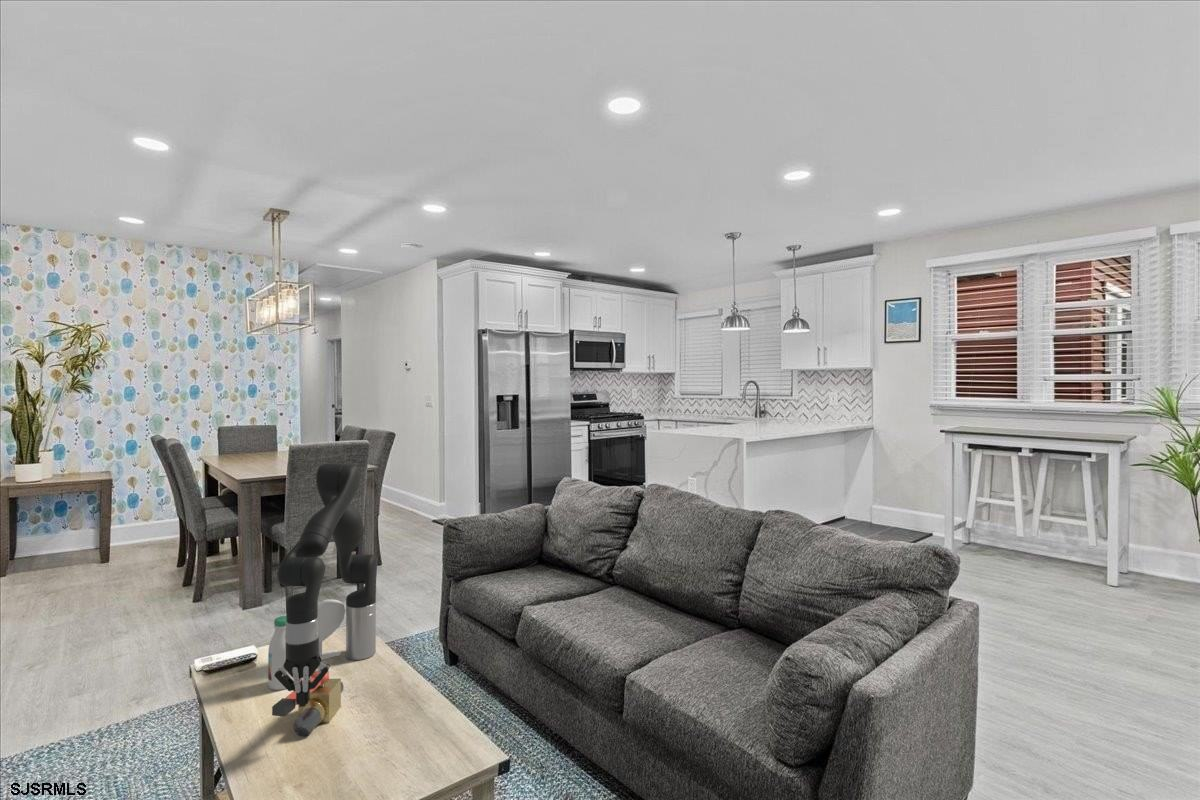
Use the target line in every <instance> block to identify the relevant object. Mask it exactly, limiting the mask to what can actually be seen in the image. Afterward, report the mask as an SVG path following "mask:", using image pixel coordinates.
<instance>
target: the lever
mask: <svg viewBox="0 0 1200 800" xmlns="http://www.w3.org/2000/svg"><path fill="white" fill-rule="evenodd" d="M318 674H319V672H318V670H315V672H314V673H313V675H312V676H311V682H312V681H313V680H314V679H315V678H316V677H317V675H318ZM329 679H330V671H329V670H328V672H327V673H326V674H325V676H324V677H323V678H322V680H321V681H320V682H319V683H318V685H317V686H316V687H315V688H314V689H310V693H311V692H312V691H314V690H315V689H316V688H317V687H318V686H319V685H321V684H324V683H326V682H328V681H329ZM296 706H298V705H297V703H296V692H295V691H292V692H290V693H289V694H288V695H287V696H286V697H285V698H284V697H282V698H281V699H280V700H278V701H277V702H276V703H274V704H273V706H272V707H271V715H272V716H273V717H283V718H284V717H286V716H288V715H289V714H290V713H291V712H293V710H295V709H296Z"/></svg>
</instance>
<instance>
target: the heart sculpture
mask: <svg viewBox="0 0 1200 800" xmlns="http://www.w3.org/2000/svg"><path fill="white" fill-rule="evenodd" d="M345 615H346V607H345V604H343V602H342V601H340V600H338V599H324V600H322V601H321V602H319V603H318V623H319V656H320V658H321V661H323V660H327V659H330V658H334V657H338V656H340V655H341V651H340V650H336V649H333V650H329V651H325V652H323V642H324V641H325V640H326V639H328V638H329V637H330V636H331V635H333V633H334V632H336V630H338V629H339V628H340V626H341V624H342V623H343V621H344V618H345Z"/></svg>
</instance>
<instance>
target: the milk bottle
mask: <svg viewBox="0 0 1200 800" xmlns="http://www.w3.org/2000/svg"><path fill="white" fill-rule="evenodd" d="M273 624H274V626H273V627H274V632H273V635H272V637H271V640H270V642H269V646H268V656H267V657H268V659H267V660H268V663H267V664H268V665H267V666H268V667H267V668H268V669H267V671H268V672H267V673H268V674H267V675H268V677H267V679H268V681H267V683H268V688H269V689H271V690H273V691H282V690H287V689H286V688H285V687H284V686H283V685H282V684H281V683H280V682H279V680H278V679H277V678H276V677H275V676H274V675H275V673H276V671H277V670H278V669H279V668H282V667H283V665H284V663H285V660H286V644H285V630H286V615H283V616H278V617H276V618H275V619H274V621H273ZM287 675H288V676H289V677H290V678H291V679H292V680H293V681H294V679H293V677H292V676H291V675H290V674H289V673H288V672H287Z"/></svg>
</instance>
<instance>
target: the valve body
mask: <svg viewBox="0 0 1200 800" xmlns="http://www.w3.org/2000/svg"><path fill="white" fill-rule="evenodd" d="M344 688H345V687H344V684H343V681H342V680H341V678H329V681H328V682H326V683H324V684H321V685H319V686H318V687H317V688H316V689H315V690H314V691H312V692H311V693H310V700H309V702H308V704H306V706H304V707H299V705H297V706H298V709H297V710H298V711H297V712H298V718H296V720H295V721H294V724H293V730H294V732H295V733H296V734H297V735H298V736H300V737H307V736H309V735H310V734H312V733H313V731H314V730H315V729H316V727H317V726H318V725H319V724H330V722H331V721H332V720H333V718H334V717H335V716H336V714H337V713H338V712H339V710H340V709H341V707H342V705H341V704H342V698H341V697H342V693H343V691H344Z"/></svg>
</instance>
